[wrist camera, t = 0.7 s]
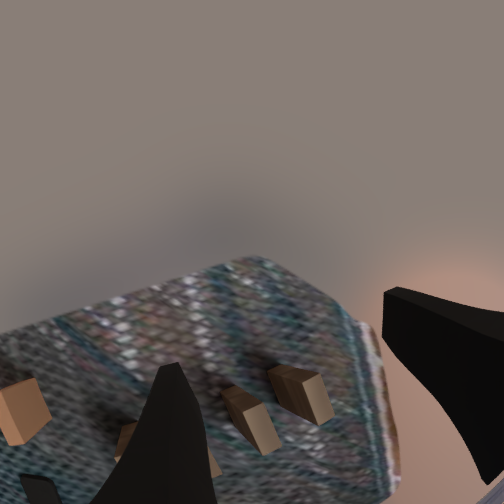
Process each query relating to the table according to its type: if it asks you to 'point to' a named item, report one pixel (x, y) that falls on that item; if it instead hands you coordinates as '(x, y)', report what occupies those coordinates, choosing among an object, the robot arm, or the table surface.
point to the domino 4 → (251, 419)
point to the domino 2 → (124, 439)
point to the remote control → (40, 489)
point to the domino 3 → (213, 465)
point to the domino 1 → (22, 411)
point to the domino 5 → (301, 393)
